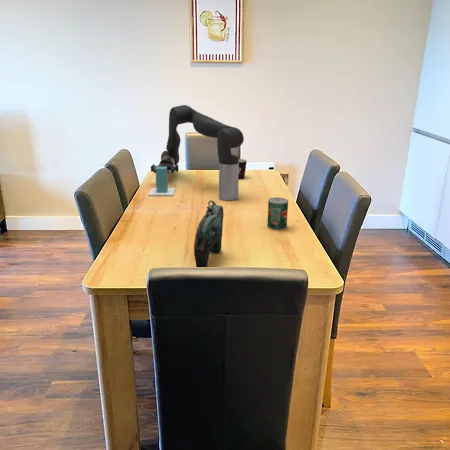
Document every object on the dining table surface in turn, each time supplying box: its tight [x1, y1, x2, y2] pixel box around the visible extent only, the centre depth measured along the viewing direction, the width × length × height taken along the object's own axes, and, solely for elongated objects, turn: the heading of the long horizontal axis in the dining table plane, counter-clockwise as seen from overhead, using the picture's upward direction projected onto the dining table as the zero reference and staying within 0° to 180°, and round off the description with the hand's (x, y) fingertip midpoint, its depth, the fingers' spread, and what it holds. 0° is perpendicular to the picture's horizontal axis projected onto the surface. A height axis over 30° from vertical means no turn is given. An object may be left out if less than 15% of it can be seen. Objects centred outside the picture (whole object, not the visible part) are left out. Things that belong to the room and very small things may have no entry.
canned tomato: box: [266, 196, 289, 231], centre depth 177 cm, size 8×8×11 cm
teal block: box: [155, 167, 169, 193], centre depth 221 cm, size 5×5×12 cm
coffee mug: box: [238, 158, 248, 180], centre depth 252 cm, size 12×9×10 cm
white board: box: [148, 187, 176, 197], centre depth 223 cm, size 12×12×1 cm
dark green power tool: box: [193, 199, 225, 268], centre depth 146 cm, size 20×6×20 cm, turn 163°
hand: (163, 171), depth 227 cm, fingers open, 8 cm apart
